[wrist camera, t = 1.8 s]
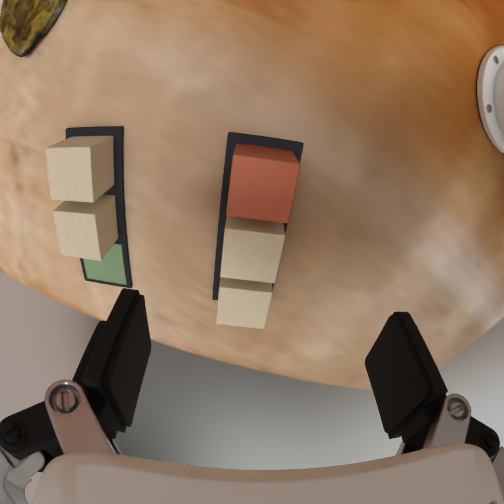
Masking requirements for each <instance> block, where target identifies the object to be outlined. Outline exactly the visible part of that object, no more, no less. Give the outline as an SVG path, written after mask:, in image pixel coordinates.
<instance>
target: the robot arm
mask: <svg viewBox="0 0 504 504" xmlns="http://www.w3.org/2000/svg"><path fill="white" fill-rule="evenodd" d="M477 97H478V106H479V111H480V117H481V120H482V123H483V126H484V129H485V131H486V133H487V135H488V137H489V139H490V140H491V142H492V143H493V145H494V146H495V147H496V148H497V149H498V150H499V151H500V152H502V153H503V154H504V46H503V45H502V46H496V47H494V48H492V49H490V50H489V51H488V53H487V54H486V55H485V57H484V58H483V60H482V62H481V66H480V69H479V74H478V81H477ZM150 351H151V340H150V334H149V328H148V321H147V314H146V307H145V300H144V296H143V295H140V293H139V291H138V290H133V289H126V288H123V289H122V291H121V293H120V295H119V297H118V299H117V301H116V303H115V305H114V307H113V309H112V311H111V313H110V315H109V317H108V319H107V321H100V322H99V323H98V325H97V327H96V329H95V331H94V333H93V335H92V337H91V339H90V341H89V343H88V346H87V348H86V350H85V352H84V354H83V357H82V359H81V361H80V363H79V366H78V368H77V370H76V373H75V375H74V377H73V380H72V381H71V380H60V381H57V382H55V383H53V384H52V385H51V386H50V387H49V388H48V390H47V392H46V394H45V401H43V402H41V403H38V404H36V405H34V406H32V407H29V408H27V409H25V410H22V411H20V412H18V413H15V414H13V415H10V416H8V417H6V418H5V419H3V420H2V421H1V422H0V504H28V502H27V500H26V498H25V494H24V493H25V488H26V486H27V484H28V483H29V482H30V481H31V480H32V479H31V477H32V476H33V475H34V474H35V473H36V472H43V473H42V475H41V477H40V480H39V482H38V485H37V488H36V492H35V494H34V498H33V502H32V504H504V448H503V447H502V446H501V447H500V448H499V446H500V441H499V437H498V435H497V433H496V432H495V431H494V430H492V429H491V428H489V427H488V426H486V425H485V424H483V423H481V422H480V421H478V420H476V419H475V418H473V417H471V408H470V405H469V403H468V401H467V400H466V399H465V398H464V397H463V396H461V395H459V394H450V395H449V396H446V393H447V391H448V390H447V388H446V386H445V383H444V381H443V379H442V377H441V375H440V373H439V371H438V368H437V366H436V364H435V362H434V360H433V358H432V356H431V354H430V352H429V350H428V348H427V346H426V344H425V342H424V340H423V338H422V336H421V334H420V332H419V330H418V328H417V326H416V324H415V322H414V321H413V319H412V317H411V315H410V314H409V313H408V312H394V313H393V315H391V316H390V317H389V318H388V320H387V322H386V324H385V326H384V327H383V329H382V331H381V333H380V335H379V336H378V338H377V340H376V342H375V343H374V345H373V347H372V348H371V350H370V352H369V354H368V355H367V357H366V359H365V367H366V370H367V373H368V376H369V379H370V383H371V386H372V389H373V392H374V396H375V399H376V402H377V406H378V410H379V413H380V417H381V420H382V424H383V428H384V430H385V432H386V433H388V436H389V439H392V438H397V437H400V436H402V440H403V441H402V443H401V445H400V447H399V449H398V451H397V453H396V455H395V456H392V457H387V458H383V459H378V460H372V461H367V462H360V463H354V464H347V465H339V466H331V467H322V468H308V469H293V470H236V469H220V468H208V467H198V466H190V465H181V464H174V463H167V462H160V461H154V460H149V459H144V458H137V457H131V456H125V455H122V454H121V452H120V450H119V448H118V447H117V445H116V443H115V442H114V440H113V439H114V438H116V434H117V431H120V432H124V433H125V430H126V426H128V427H130V426H131V424H132V420H133V416H134V412H135V408H136V404H137V400H138V396H139V392H140V388H141V384H142V381H143V377H144V374H145V370H146V366H147V362H148V358H149V356H150Z"/></svg>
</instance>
